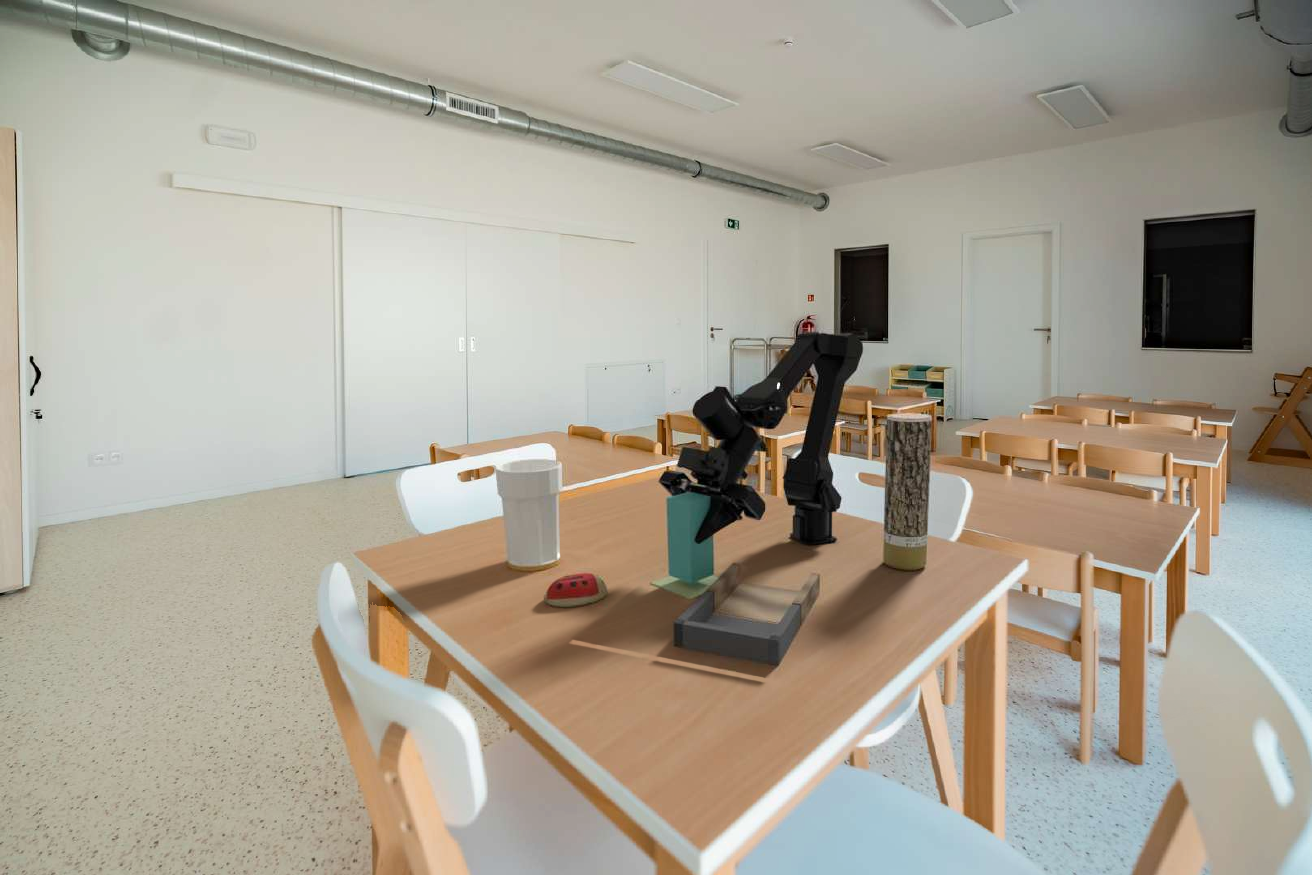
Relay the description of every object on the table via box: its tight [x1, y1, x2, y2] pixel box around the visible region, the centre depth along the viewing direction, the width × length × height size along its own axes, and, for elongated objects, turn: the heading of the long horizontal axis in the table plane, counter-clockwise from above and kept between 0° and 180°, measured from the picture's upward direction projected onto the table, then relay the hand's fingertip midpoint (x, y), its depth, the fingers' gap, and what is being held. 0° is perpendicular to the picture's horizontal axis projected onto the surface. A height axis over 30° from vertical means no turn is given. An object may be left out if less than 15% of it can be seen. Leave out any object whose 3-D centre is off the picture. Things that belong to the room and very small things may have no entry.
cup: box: [495, 458, 563, 572], centre depth 118 cm, size 11×11×17 cm
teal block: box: [666, 492, 715, 583], centre depth 105 cm, size 5×5×12 cm
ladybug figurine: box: [543, 572, 608, 608], centre depth 102 cm, size 7×10×4 cm
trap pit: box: [673, 591, 801, 667], centre depth 87 cm, size 11×13×4 cm
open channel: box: [706, 562, 821, 628], centre depth 98 cm, size 12×13×4 cm
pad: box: [650, 575, 719, 600], centre depth 106 cm, size 9×9×1 cm
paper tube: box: [882, 412, 933, 571], centre depth 111 cm, size 7×7×25 cm
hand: (684, 538), depth 104 cm, fingers closed on teal block, 5 cm apart
